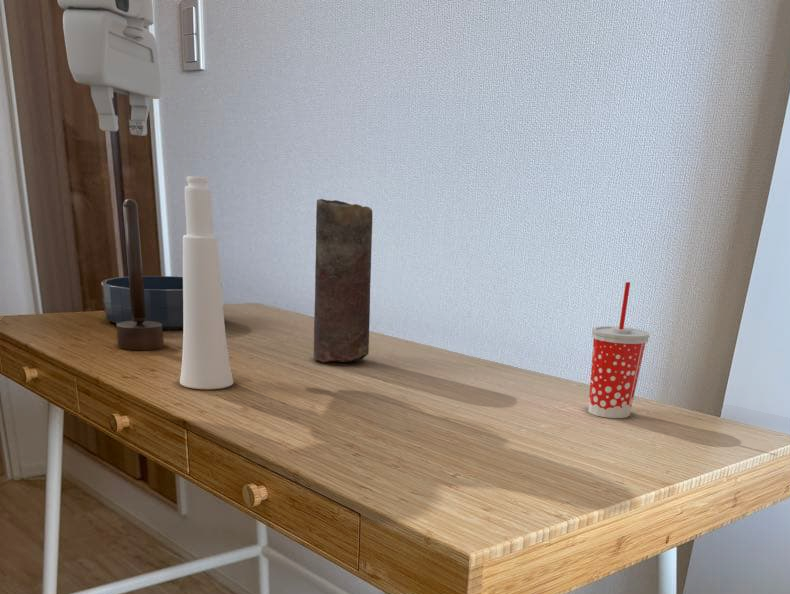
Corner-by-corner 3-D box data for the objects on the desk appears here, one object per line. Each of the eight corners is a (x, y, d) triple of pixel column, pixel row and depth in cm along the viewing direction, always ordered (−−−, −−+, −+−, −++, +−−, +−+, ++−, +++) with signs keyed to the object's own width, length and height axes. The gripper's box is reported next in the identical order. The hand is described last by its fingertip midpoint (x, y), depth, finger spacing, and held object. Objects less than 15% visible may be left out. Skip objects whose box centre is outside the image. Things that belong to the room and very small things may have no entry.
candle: (335, 352, 117) (337, 199, 109) (379, 360, 113) (385, 202, 105) (302, 360, 111) (302, 198, 103) (347, 369, 107) (351, 202, 99)
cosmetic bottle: (191, 391, 92) (179, 176, 84) (172, 380, 97) (159, 174, 88) (241, 387, 95) (235, 178, 87) (221, 376, 100) (213, 177, 91)
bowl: (85, 326, 126) (81, 285, 124) (131, 309, 143) (128, 273, 140) (203, 334, 125) (201, 293, 123) (235, 316, 142) (234, 279, 139)
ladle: (111, 348, 112) (97, 198, 104) (128, 341, 117) (116, 197, 110) (154, 351, 111) (143, 200, 104) (169, 343, 117) (160, 199, 109)
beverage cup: (602, 403, 97) (620, 278, 91) (647, 414, 93) (669, 284, 87) (569, 410, 93) (586, 280, 87) (616, 423, 89) (636, 287, 83)
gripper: (122, 18, 108) (131, 136, 114) (47, -16, 89) (63, 127, 95) (169, 20, 108) (177, 138, 113) (105, -14, 89) (117, 129, 94)
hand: (124, 133), depth 104 cm, fingers open, 8 cm apart
